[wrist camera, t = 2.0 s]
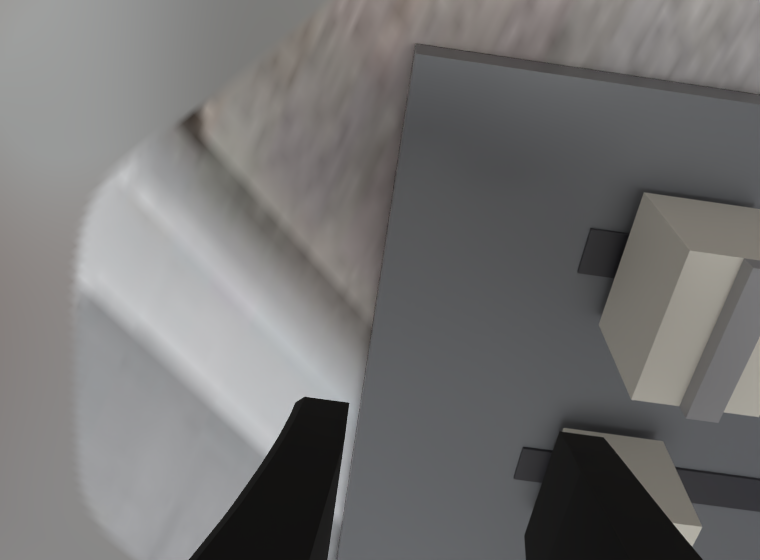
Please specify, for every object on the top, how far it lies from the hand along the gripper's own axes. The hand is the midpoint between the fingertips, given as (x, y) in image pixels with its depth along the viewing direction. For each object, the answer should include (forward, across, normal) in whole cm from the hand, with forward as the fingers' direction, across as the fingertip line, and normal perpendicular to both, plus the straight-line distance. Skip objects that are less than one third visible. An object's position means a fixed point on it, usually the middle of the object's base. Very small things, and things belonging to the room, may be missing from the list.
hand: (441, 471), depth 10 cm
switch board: (+9, -8, +7) cm, 14 cm away
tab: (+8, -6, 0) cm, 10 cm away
